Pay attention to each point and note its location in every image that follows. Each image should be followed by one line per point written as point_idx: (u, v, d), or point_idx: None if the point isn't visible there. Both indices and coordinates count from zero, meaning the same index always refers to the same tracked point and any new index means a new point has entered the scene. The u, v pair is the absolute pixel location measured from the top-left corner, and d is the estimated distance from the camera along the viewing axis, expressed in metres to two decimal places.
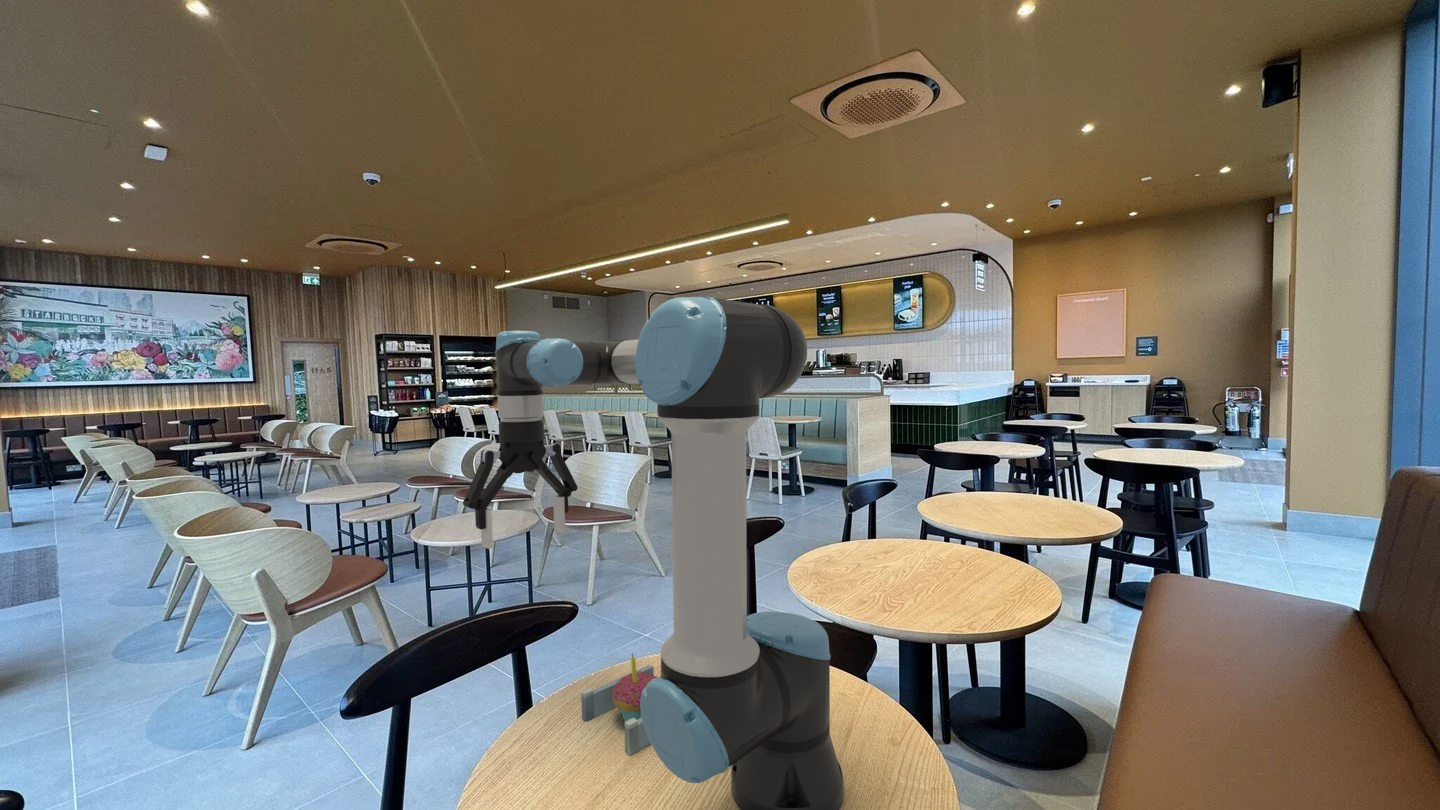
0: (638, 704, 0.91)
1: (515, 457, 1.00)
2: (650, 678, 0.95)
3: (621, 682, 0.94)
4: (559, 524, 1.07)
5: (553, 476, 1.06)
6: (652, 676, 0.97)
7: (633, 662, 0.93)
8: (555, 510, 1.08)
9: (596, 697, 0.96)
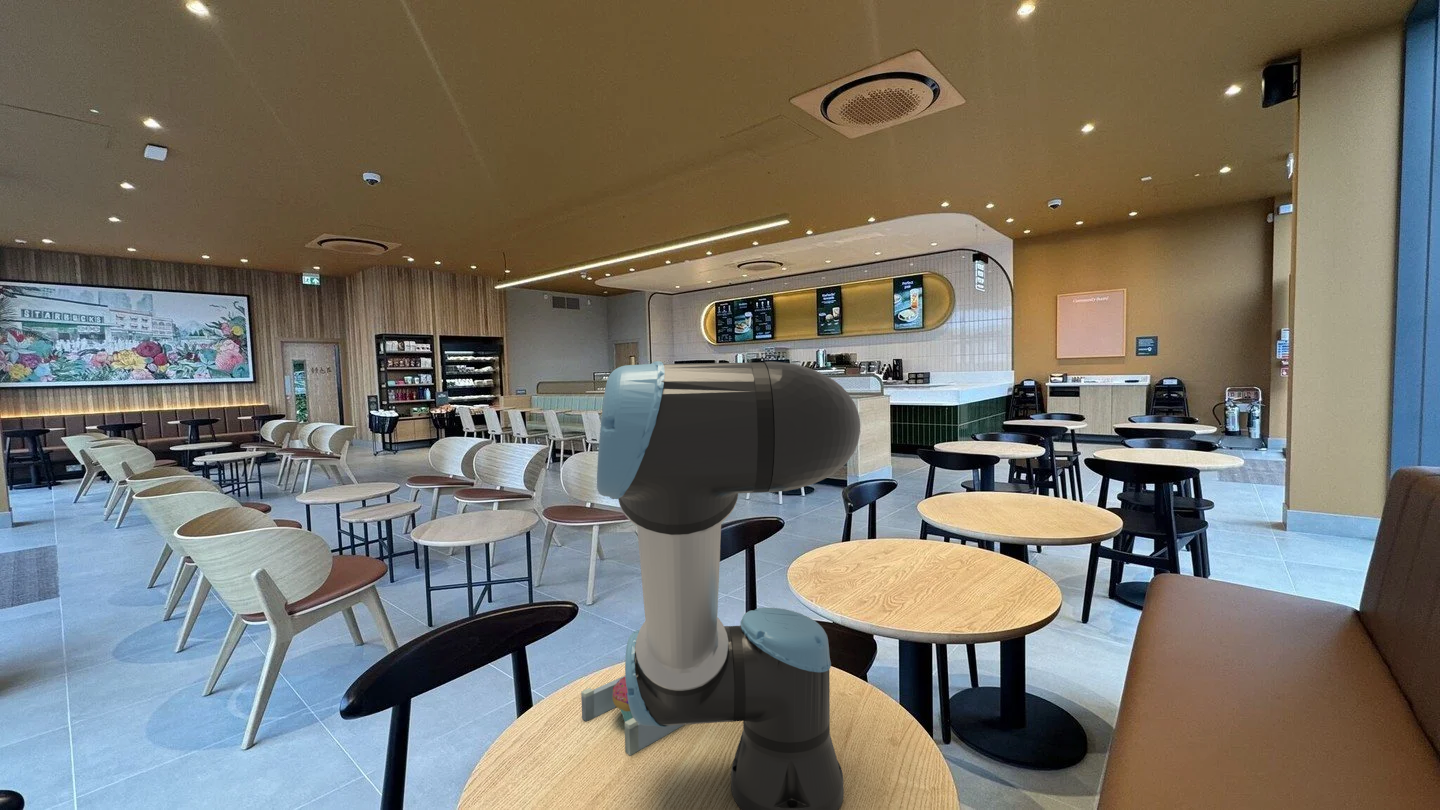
0: None
1: None
2: None
3: (621, 682, 0.94)
4: None
5: None
6: None
7: None
8: None
9: (596, 697, 0.96)
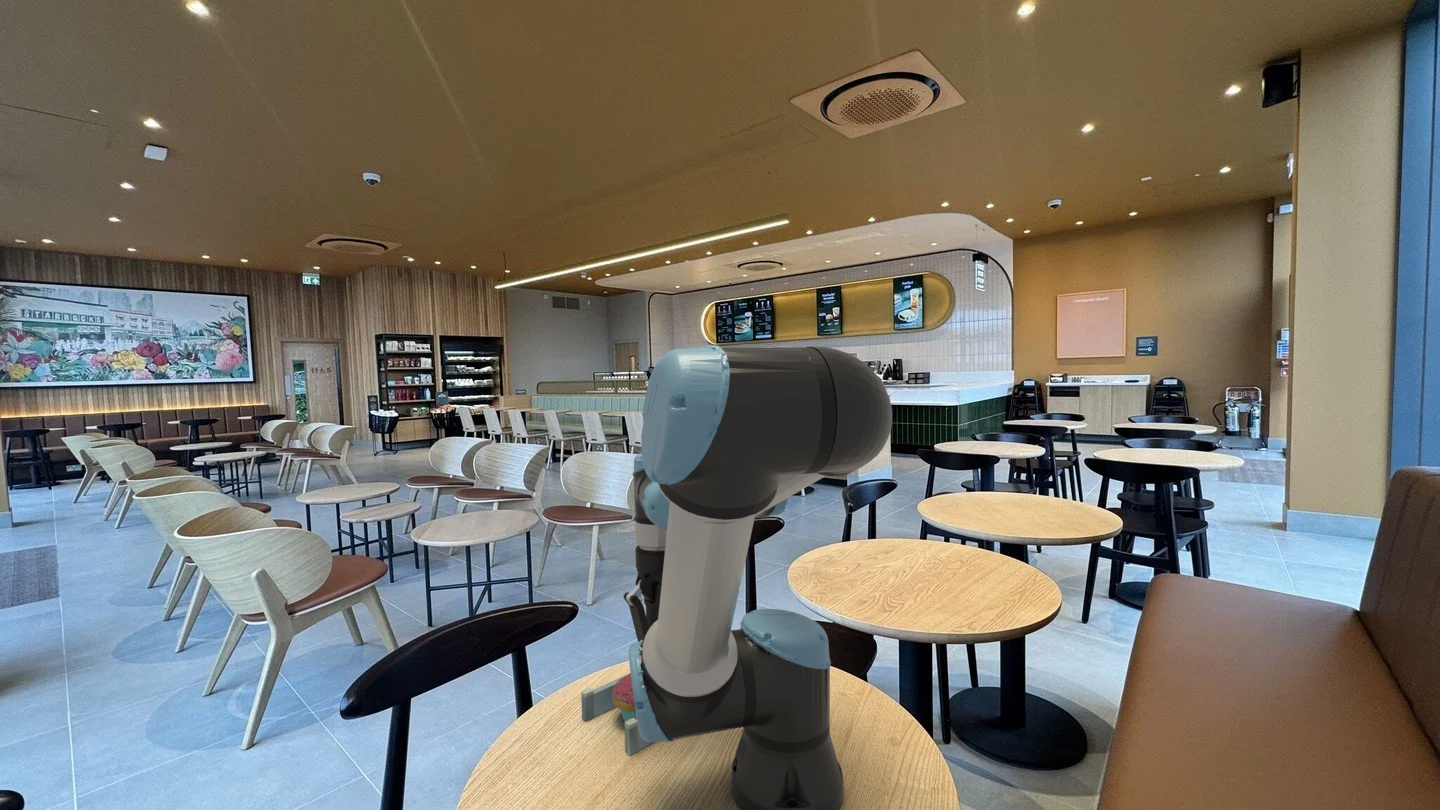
0: None
1: (655, 589, 0.95)
2: None
3: (621, 682, 0.94)
4: None
5: None
6: None
7: None
8: None
9: (596, 697, 0.96)
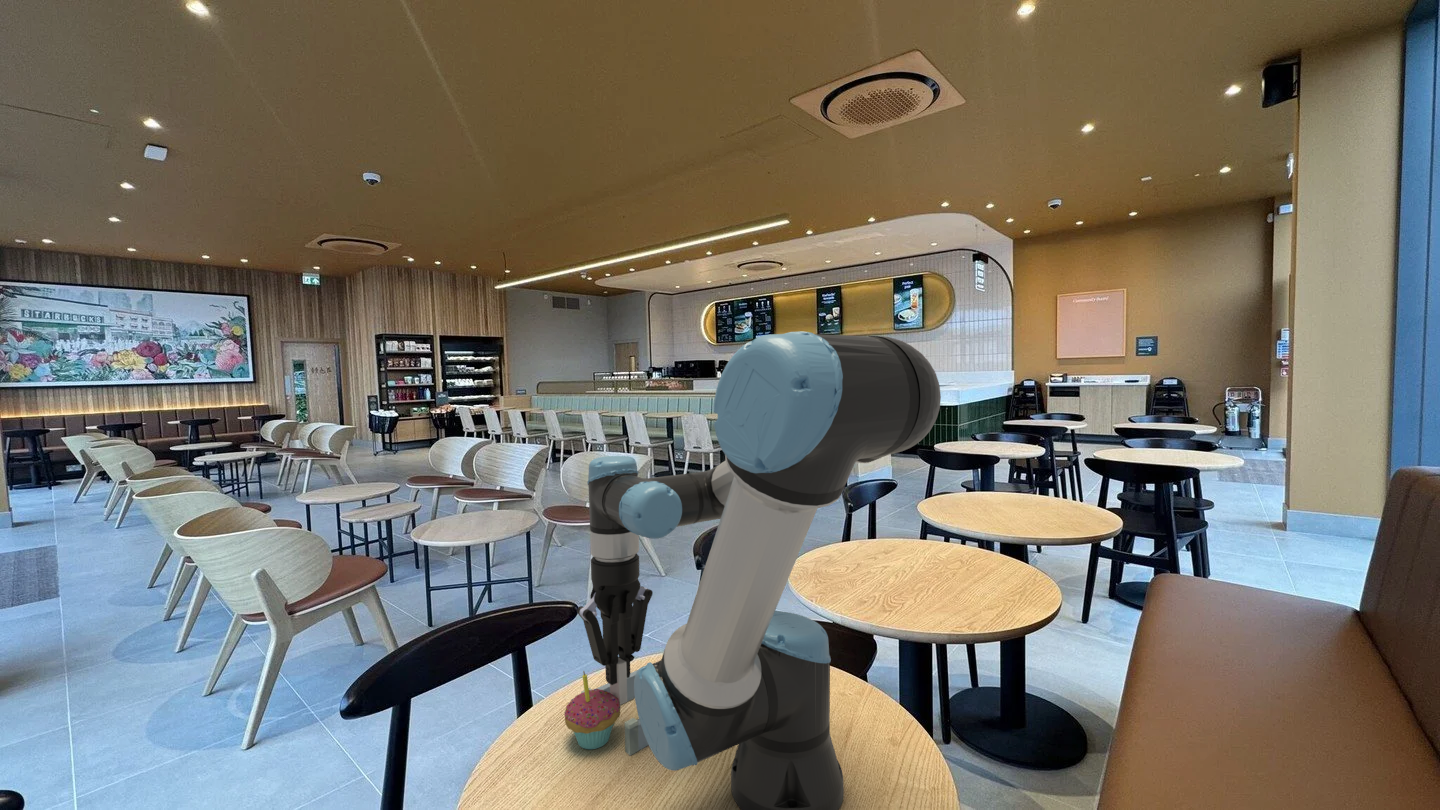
0: (588, 725, 0.85)
1: (611, 603, 0.90)
2: (605, 697, 0.90)
3: (574, 700, 0.89)
4: None
5: (629, 629, 0.92)
6: (608, 694, 0.91)
7: (585, 680, 0.87)
8: None
9: None
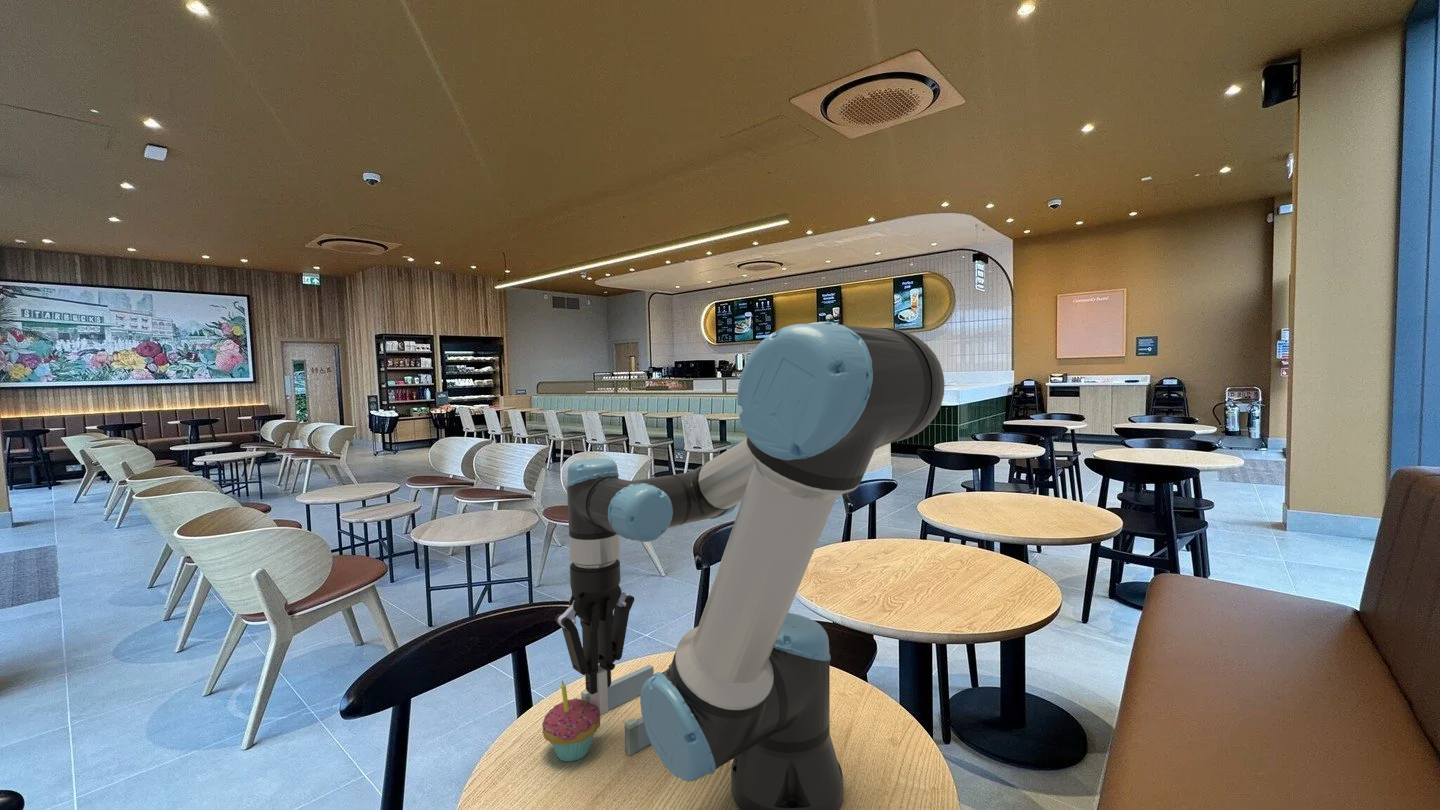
0: (566, 737, 0.83)
1: (590, 610, 0.87)
2: (585, 707, 0.87)
3: (553, 711, 0.87)
4: None
5: (610, 637, 0.90)
6: (588, 704, 0.88)
7: (563, 690, 0.85)
8: None
9: None
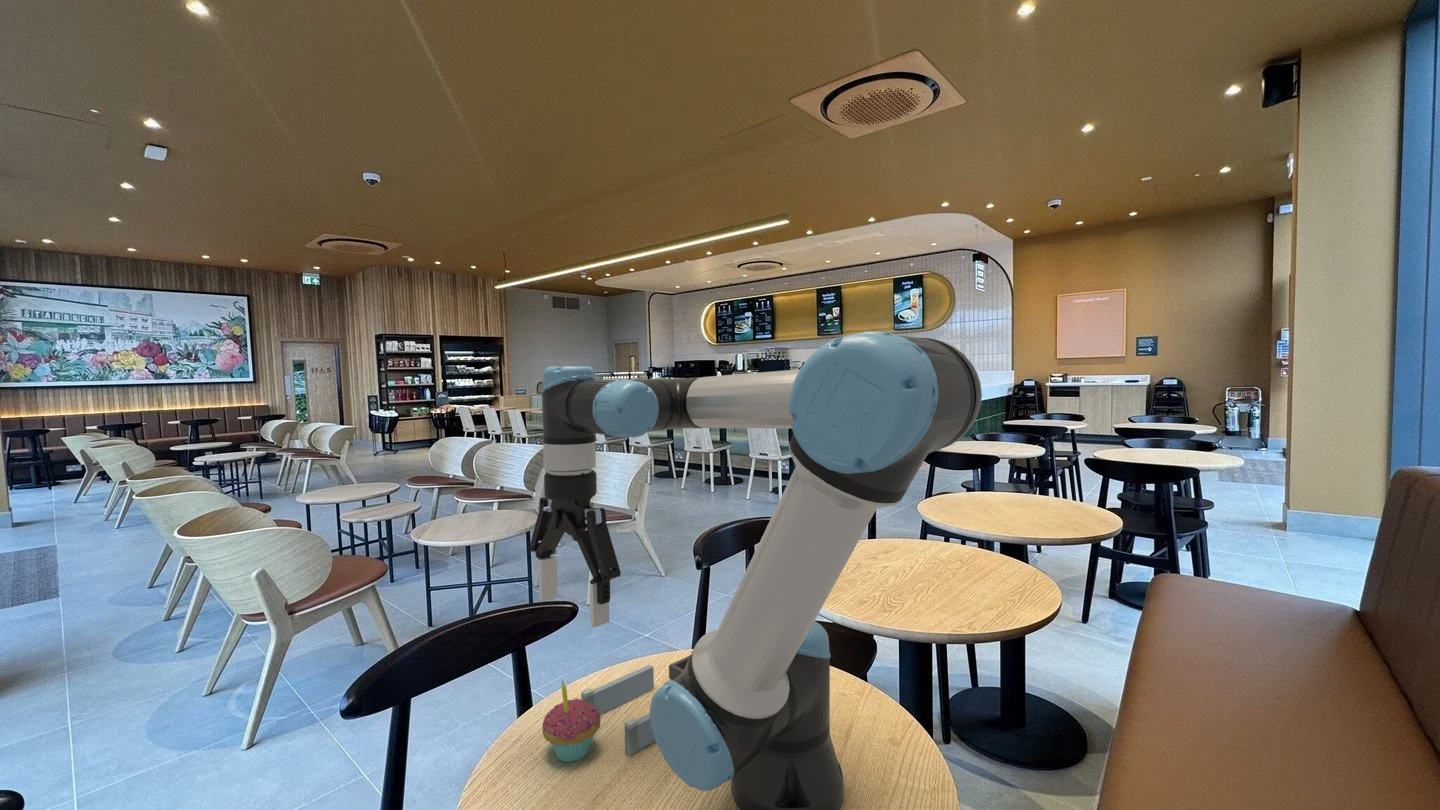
0: (566, 737, 0.83)
1: None
2: (585, 707, 0.87)
3: (553, 711, 0.87)
4: None
5: (585, 550, 0.82)
6: (588, 705, 0.88)
7: (563, 690, 0.85)
8: None
9: (596, 697, 0.96)
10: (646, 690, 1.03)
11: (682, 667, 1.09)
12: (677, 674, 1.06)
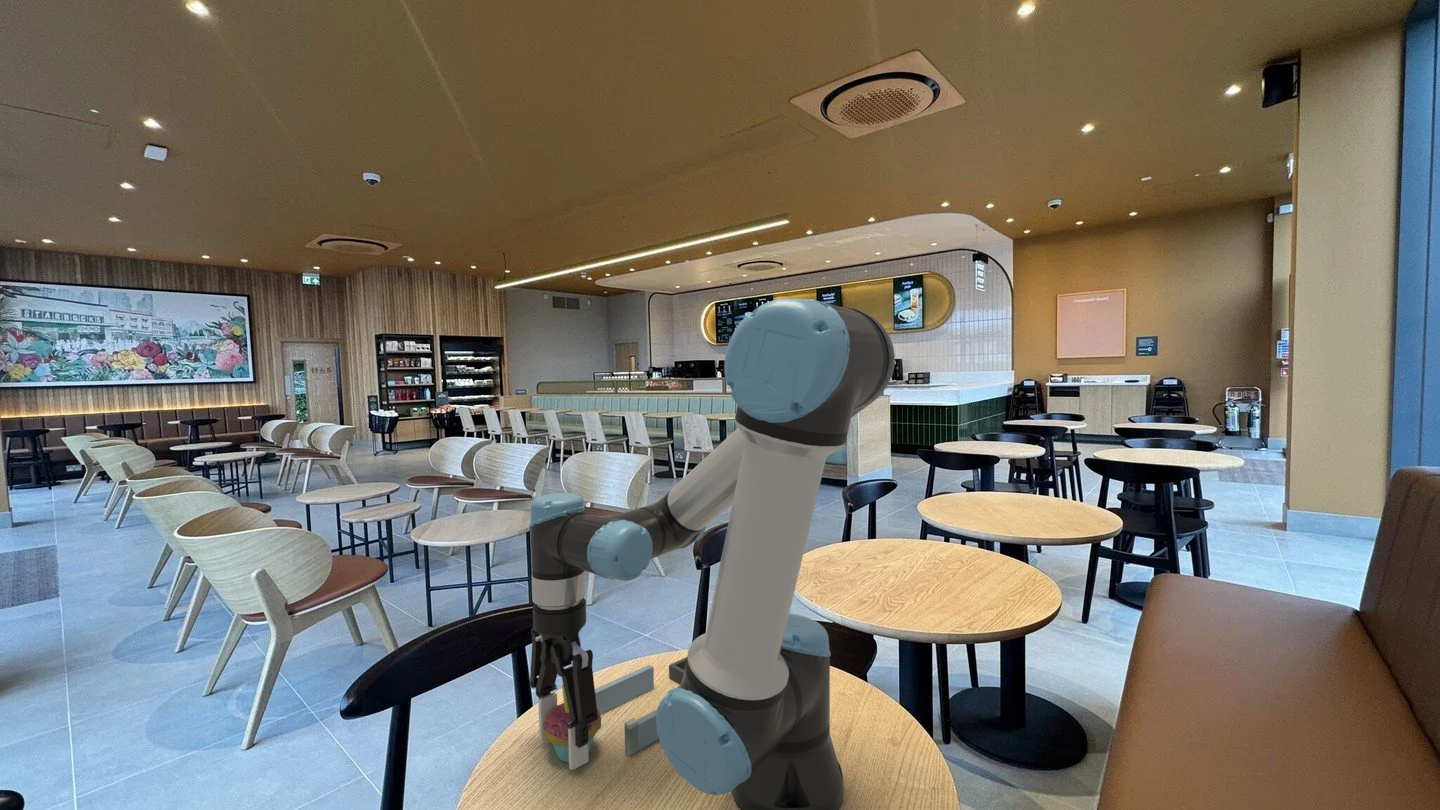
0: (567, 738, 0.83)
1: None
2: None
3: (554, 711, 0.86)
4: None
5: (567, 690, 0.82)
6: None
7: (564, 690, 0.85)
8: None
9: (596, 697, 0.96)
10: (646, 690, 1.03)
11: (682, 667, 1.09)
12: (677, 674, 1.06)
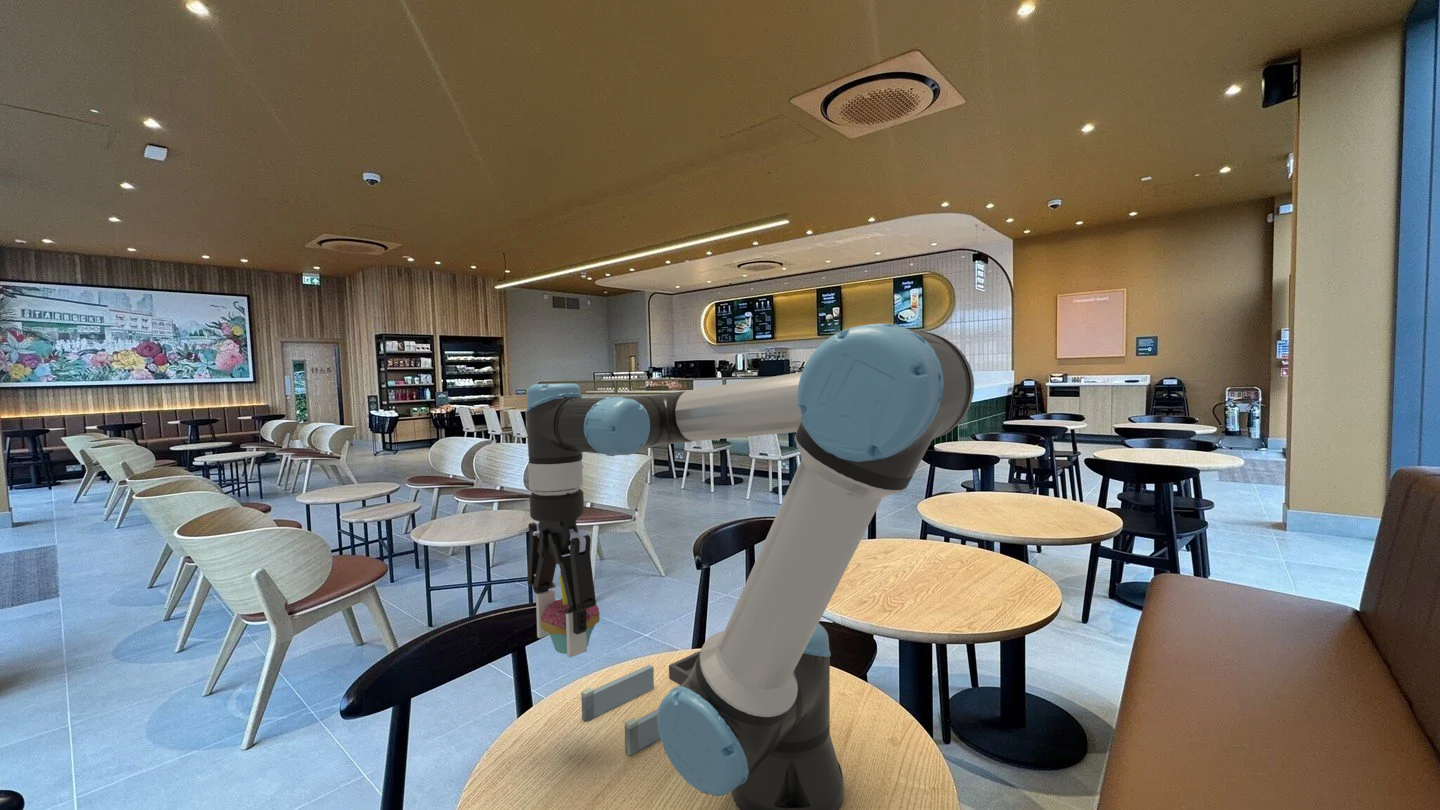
0: (564, 626, 0.82)
1: None
2: None
3: (551, 605, 0.85)
4: None
5: (565, 577, 0.81)
6: None
7: (562, 581, 0.84)
8: None
9: (596, 697, 0.96)
10: (646, 690, 1.03)
11: (682, 667, 1.09)
12: (677, 674, 1.06)
